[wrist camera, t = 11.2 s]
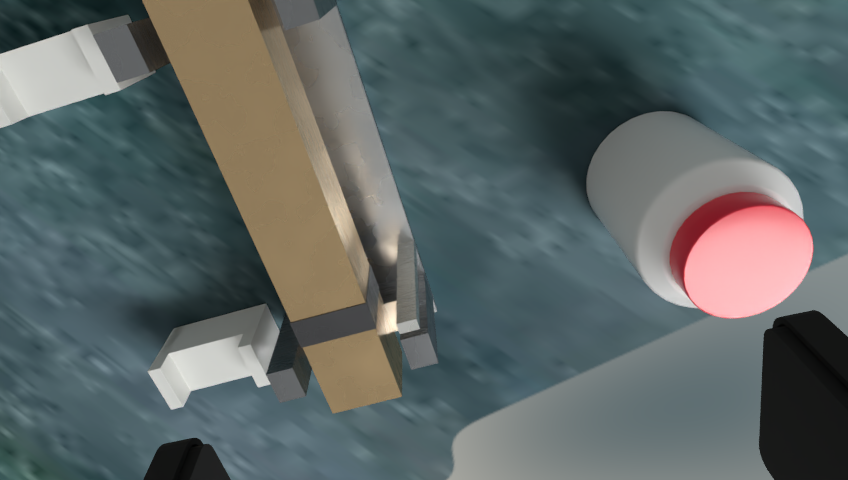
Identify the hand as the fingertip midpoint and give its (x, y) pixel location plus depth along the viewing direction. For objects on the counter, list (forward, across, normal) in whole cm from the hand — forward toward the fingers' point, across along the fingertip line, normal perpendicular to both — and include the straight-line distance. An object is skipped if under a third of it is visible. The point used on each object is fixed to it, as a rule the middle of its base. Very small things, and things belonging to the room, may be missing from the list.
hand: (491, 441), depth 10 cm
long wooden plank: (+22, +8, +3) cm, 24 cm away
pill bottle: (+25, -12, +8) cm, 29 cm away
